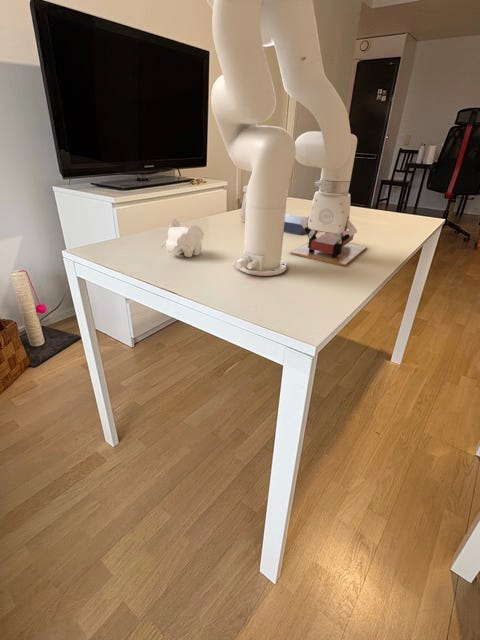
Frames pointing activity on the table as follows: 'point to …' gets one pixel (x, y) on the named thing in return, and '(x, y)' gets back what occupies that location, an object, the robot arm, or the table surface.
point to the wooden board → (343, 259)
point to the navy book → (294, 224)
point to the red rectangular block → (327, 242)
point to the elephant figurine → (184, 239)
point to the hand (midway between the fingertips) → (323, 253)
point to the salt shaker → (243, 205)
